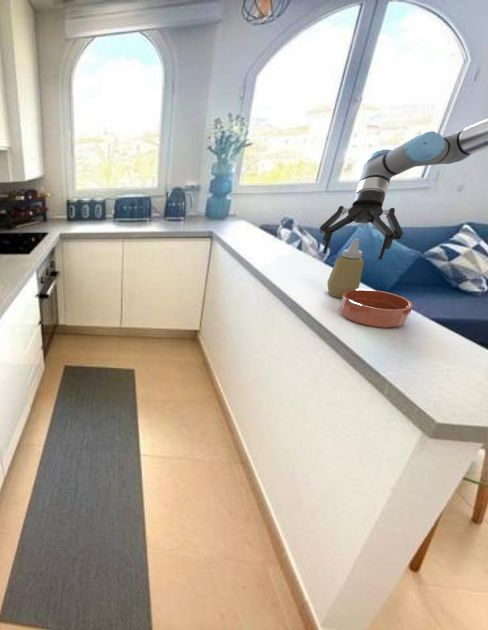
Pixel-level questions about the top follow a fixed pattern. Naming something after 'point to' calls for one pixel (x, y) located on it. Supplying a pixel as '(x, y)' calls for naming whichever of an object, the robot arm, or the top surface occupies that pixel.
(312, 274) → the top surface
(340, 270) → the squeeze bottle
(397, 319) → the bowl
